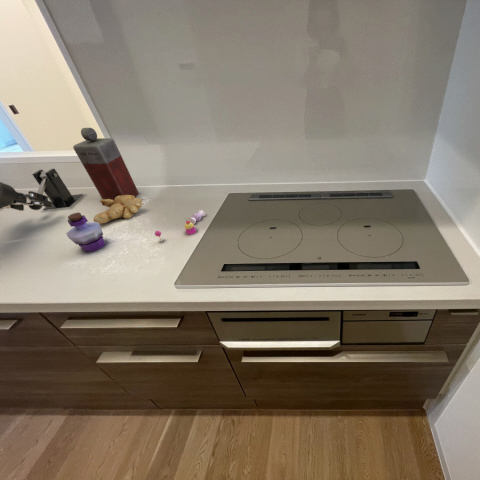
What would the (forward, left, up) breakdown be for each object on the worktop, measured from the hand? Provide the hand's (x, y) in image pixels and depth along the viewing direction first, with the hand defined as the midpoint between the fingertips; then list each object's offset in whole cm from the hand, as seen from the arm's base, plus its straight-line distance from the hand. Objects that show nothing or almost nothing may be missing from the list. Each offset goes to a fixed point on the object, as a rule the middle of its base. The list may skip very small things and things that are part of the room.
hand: (36, 206), depth 93 cm
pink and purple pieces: (+55, +6, -6) cm, 55 cm away
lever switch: (-6, +11, -6) cm, 14 cm away
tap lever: (-3, +6, +2) cm, 7 cm away
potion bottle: (+32, -9, -6) cm, 34 cm away
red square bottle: (+13, +19, -6) cm, 24 cm away
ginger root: (+24, +10, -6) cm, 27 cm away
